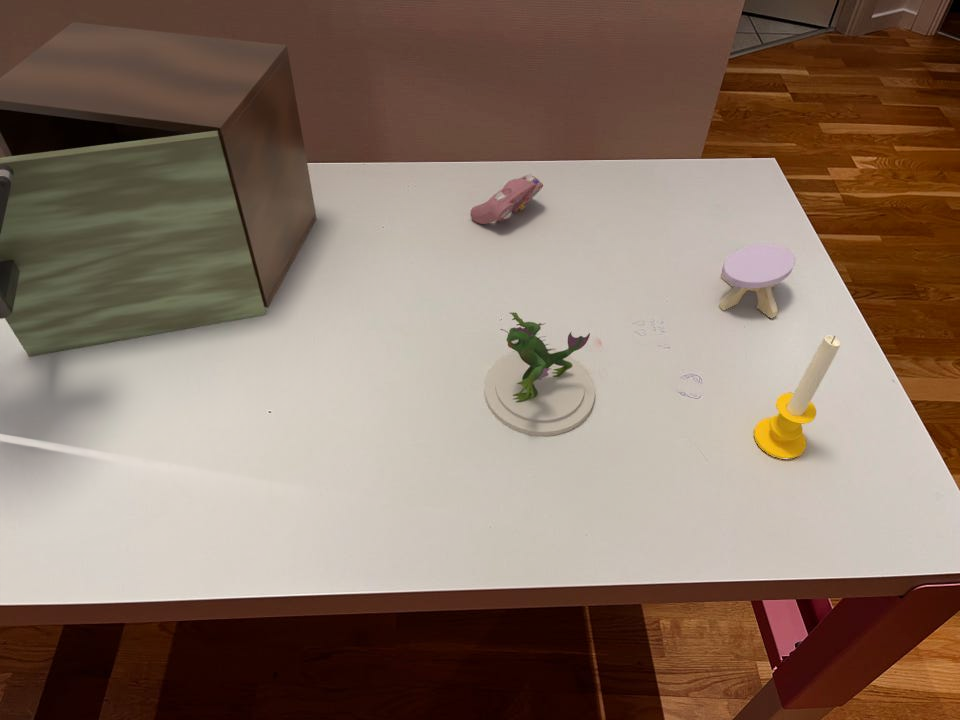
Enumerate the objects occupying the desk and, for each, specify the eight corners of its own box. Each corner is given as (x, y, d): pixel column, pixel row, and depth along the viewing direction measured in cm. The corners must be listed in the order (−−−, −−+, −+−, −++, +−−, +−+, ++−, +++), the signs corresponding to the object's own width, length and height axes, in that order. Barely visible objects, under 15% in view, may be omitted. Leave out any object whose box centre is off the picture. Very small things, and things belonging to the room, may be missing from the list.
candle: (784, 414, 80) (839, 310, 68) (815, 452, 76) (878, 349, 65) (743, 427, 78) (792, 323, 67) (772, 466, 75) (829, 363, 64)
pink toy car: (486, 241, 101) (506, 213, 95) (465, 216, 101) (483, 186, 95) (533, 209, 106) (554, 181, 100) (512, 186, 106) (532, 156, 100)
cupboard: (268, 308, 89) (220, 127, 71) (68, 278, 92) (-26, 97, 74) (317, 219, 101) (287, 45, 83) (138, 195, 104) (73, 21, 86)
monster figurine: (480, 354, 85) (482, 287, 77) (583, 350, 85) (596, 283, 78) (488, 439, 77) (492, 373, 69) (603, 433, 77) (618, 368, 70)
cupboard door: (271, 355, 84) (222, 175, 66) (21, 402, 78) (-105, 219, 61) (265, 308, 89) (217, 130, 71) (29, 350, 83) (-85, 168, 66)
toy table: (731, 330, 88) (744, 294, 84) (692, 281, 94) (703, 246, 90) (800, 312, 90) (817, 277, 86) (759, 266, 96) (773, 231, 92)
